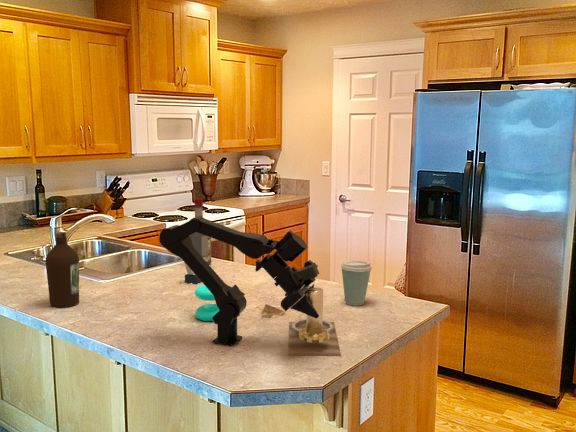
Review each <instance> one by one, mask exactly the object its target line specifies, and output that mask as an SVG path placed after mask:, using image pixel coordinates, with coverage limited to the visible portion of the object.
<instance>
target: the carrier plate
mask: <svg viewBox="0 0 576 432" xmlns="http://www.w3.org/2000/svg"><path fill="white" fill-rule="evenodd" d="M306 322H307V318H303V319H297V320H296V321H288V356H291V357H293V356H295V357H342V354H341V353H342V352H341V349H340V343H339V338H338V334H337V330H336V325H335V322H334V321H328V320H325V319H323V322H322V328H323V329H327V330H329V333H330V338H329V340H324V342H321V343H319V342H312V343H310V342H307V341H306V340H301V339H300V338H299V330H300V329H305V327H306Z"/></svg>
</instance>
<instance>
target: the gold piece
mask: <svg viewBox="0 0 576 432" xmlns="http://www.w3.org/2000/svg"><path fill="white" fill-rule="evenodd" d="M307 292H308V300H309V301H310V303H311V304H312V306H313V307H314V309H315V310H316V311H317V313H318V315H319V317H318V318H314V317H311V316H309V315H307V314H306V319H307V322H306V327H305V329H300V330H299V338H300V339H301V340H306V341H307V342H310V343H312V342H319V343H321V342H324V340H329V338H330V333H329V330H327V329H323V328H322V322H323V320H324V319H323V315H324V309H323V308H324V289H323V288H321V287H316V286H314V288H308V289H307Z"/></svg>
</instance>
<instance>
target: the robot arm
mask: <svg viewBox="0 0 576 432" xmlns="http://www.w3.org/2000/svg"><path fill="white" fill-rule="evenodd" d="M195 232H198V233H200V234H203V235H206V236H208V237H211V239H214V240H216V241H220V242H221V243H224V244H228V245H230V246H232V247H234V248H235V249H237V250H238V251H239V252H240V253H242V254H243V255H245V256H247V257H249V258H250V259H253V260H256V261H255V269H254V271H255V272H259V271H260V270H261V269H263V270H264V271H265V272H266V273H267V274H268V275H269V276H270V277H271V279H273V280H274V286H276V287H278V286H279V287H280V288H281V289H282V291H284V293H285V294H284V296H285V297H284V298H283V299H282V300H281V301H280V307H281V308H282V309H283V311H284V312H287V311H288V310H289V309H290V310H295V311H297V312H299V313H302V314H303V315H306V316H307V315H309V316H311V317H314V318H318V317H319V315H318V313H317V311H316V310H315V309H314V307H313V306H312V304H311V303H310V301H309V300H308V292H307V289H308V288H314V287H315V283H314V282H315V281H316V279H317V277H318V275H320V272H319V269H318V264H316V262H313V261H312V260H311V259H309V260H306V261H305V262H304V266H302V267H300V268H298V269H297V268H296V266H292V267H291V266H290V265H289V264H288V261H289V262H294V261H295V260H296V259H298V257H300V256H301V255H302V254H303V252H305V251H306V250H307V249H308V245H307V243H306V241H305V240H304V239H303V238H302V237H301V236H299V235H297V233H294V232H293V231H292V230H288V231H287V232H286V233H285V234H284V236H283V237H282V238H281V239H280V240H273V239H269V238H268V237H267V236H266V235H264V234H260V233H255V232H246V231H245V232H244V231H240V230H236V229H234V228H231V227H228V226H225V225H223V224H220V223H217V222H215V221H212V220H209V219H207V218H204V216H203V217H201V216H198V217H195V216H194V217H192V218H191V219H189V220H188V221H186V222H184V223H182V224H174V225H172V226H169V227H167V228H164V229H162V230H161V232H160V233H159V236H158V237H159V239H158V241H159V244H160V245H161V246H162V247H163V248H164V249H166V250H167V251H168V252H169V253H170V254H172V255H173V256H176V257H178V258H180V259H181V260H182V261H183V262H184V263H185V265H186V264H187V266H188V267H189V268H190V269H191V270H192V271H193V272H194V274H195V275H196V276H197V277H198V278H199V279H200V280H201V283H202V285H205V286H206V287H207V288H208V290H209V291H210V292H211V293H212V294H213V296H214V299H215V300H214V302H215V304H216V305H217V307H218V308H219V310H220V311H219V312H217V313H216V314H215V315H214V316H213V317H212V318H213V321H212V322H213V323H214V325H217V326H216V329H217V331H216V332H217V337H216V338H214V339H213V340H212V343H214V344H222V345H227V346H234V345H235V344H236V343H237V342H239V341H240V340H242V339H243V336H242V335H238V317H240V316H241V313H242V312H244V310H245V309H246V308H247V298H246V297H245V295H246V293H244V292H242V291H241V290H240V288H239V286H238V285H237V284H234V285H233V286H231V285H228V284H227V283H225V281H224V280H223V279H222V278H221V277H220V276H219V274H217V272H216V271H215V270H214V268H213V267H211V265H210V266H209V264H208V263H207V262H206V261H205V260H204V259H203V258H202V256H201V255H200V254H199V253H198V252H197V251H196V250H195V248H194V247H193V244H192V241H191V238H190V236H189V235H191V234H193V233H195ZM274 250H276V251H275V252H274V253H273V254H270V253H272V252H273V251H274ZM264 255H265V256H264ZM263 256H264V257H263ZM261 257H263V258H262V259H259V258H261ZM257 259H258V260H257ZM312 283H313V284H312Z"/></svg>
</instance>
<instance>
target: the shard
mask: <svg viewBox="0 0 576 432" xmlns="http://www.w3.org/2000/svg"><path fill="white" fill-rule="evenodd" d="M261 310H262V311H261V314H260V316H261V318H262V319H263V318H264V319H270V318H272V317H273V316H278V317H282V316H285V314H286V311H285V310H282V309H279V308H278V307H275V306H271V305H270V304H269V305H268V304H265V305H264V308H263V309H261Z"/></svg>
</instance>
